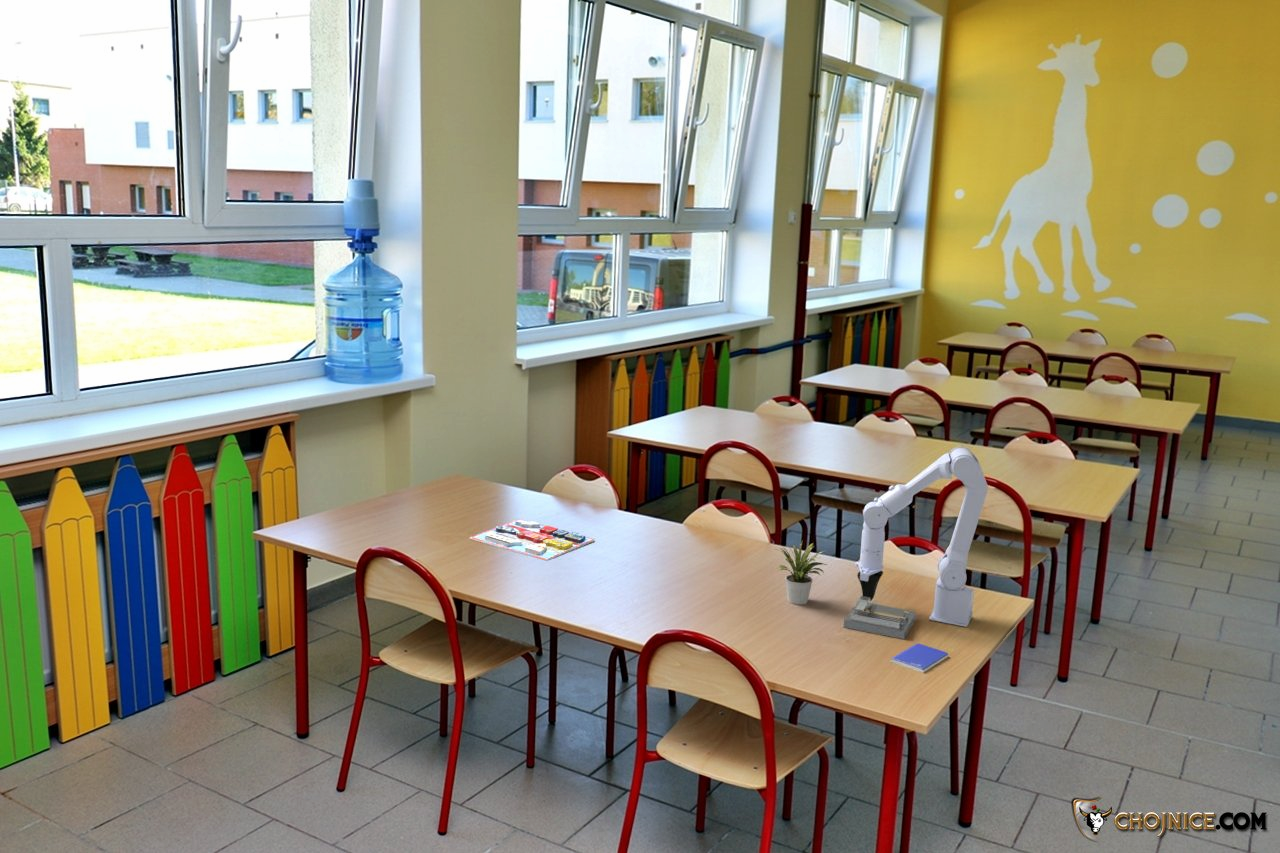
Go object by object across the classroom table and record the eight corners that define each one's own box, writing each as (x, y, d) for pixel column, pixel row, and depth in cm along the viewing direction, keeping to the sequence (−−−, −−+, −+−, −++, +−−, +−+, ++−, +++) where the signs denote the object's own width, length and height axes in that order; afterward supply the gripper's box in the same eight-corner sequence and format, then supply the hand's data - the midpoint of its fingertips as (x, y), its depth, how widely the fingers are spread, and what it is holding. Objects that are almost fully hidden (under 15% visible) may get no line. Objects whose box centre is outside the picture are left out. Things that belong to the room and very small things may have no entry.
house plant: (778, 613, 279) (782, 553, 276) (758, 594, 292) (762, 536, 289) (830, 609, 283) (834, 549, 280) (808, 590, 296) (812, 533, 293)
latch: (869, 609, 279) (870, 597, 278) (864, 616, 274) (865, 604, 274) (858, 607, 280) (859, 595, 279) (853, 614, 275) (854, 602, 275)
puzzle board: (468, 541, 330) (468, 532, 329) (518, 523, 349) (518, 515, 348) (547, 563, 313) (547, 554, 313) (595, 543, 332) (595, 535, 331)
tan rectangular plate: (903, 619, 273) (903, 617, 273) (900, 623, 271) (900, 620, 271) (859, 610, 278) (859, 608, 278) (856, 614, 275) (857, 612, 275)
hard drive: (923, 668, 248) (948, 652, 257) (890, 657, 253) (916, 642, 262) (922, 674, 248) (947, 658, 257) (890, 664, 253) (916, 648, 262)
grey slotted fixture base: (916, 618, 279) (917, 604, 278) (903, 639, 266) (905, 624, 265) (858, 607, 285) (859, 593, 284) (843, 627, 272) (844, 612, 271)
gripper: (863, 538, 288) (859, 587, 291) (849, 554, 275) (846, 605, 278) (890, 542, 285) (886, 592, 288) (877, 558, 272) (873, 610, 275)
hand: (868, 598), depth 283 cm, fingers closed
